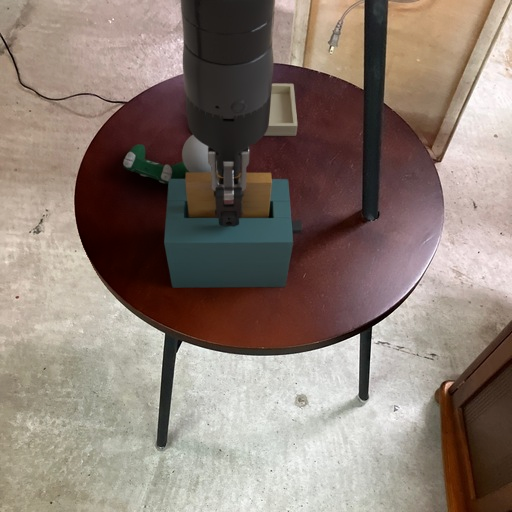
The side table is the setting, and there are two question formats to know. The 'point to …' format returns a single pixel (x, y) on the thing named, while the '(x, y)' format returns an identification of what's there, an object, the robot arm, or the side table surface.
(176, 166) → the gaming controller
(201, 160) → the light bulb
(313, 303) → the side table surface
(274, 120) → the tray
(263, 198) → the toast
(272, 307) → the side table surface
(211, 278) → the toaster
